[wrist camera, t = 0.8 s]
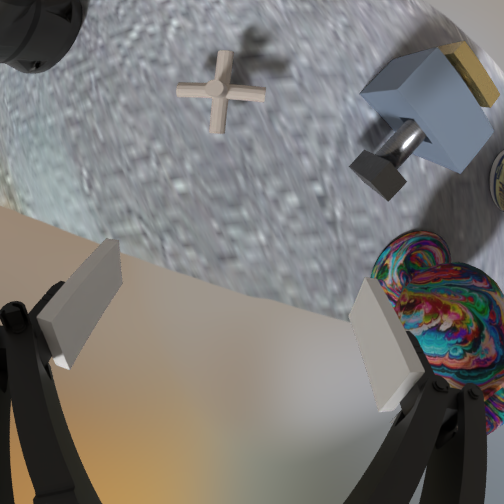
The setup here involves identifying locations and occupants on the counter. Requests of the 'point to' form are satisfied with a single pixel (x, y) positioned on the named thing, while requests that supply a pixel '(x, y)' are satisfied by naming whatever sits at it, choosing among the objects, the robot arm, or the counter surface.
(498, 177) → the supplement tub
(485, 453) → the robot arm
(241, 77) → the counter surface
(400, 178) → the shaft
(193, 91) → the pipe connector
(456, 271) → the vase
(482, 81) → the block
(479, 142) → the pillow block
